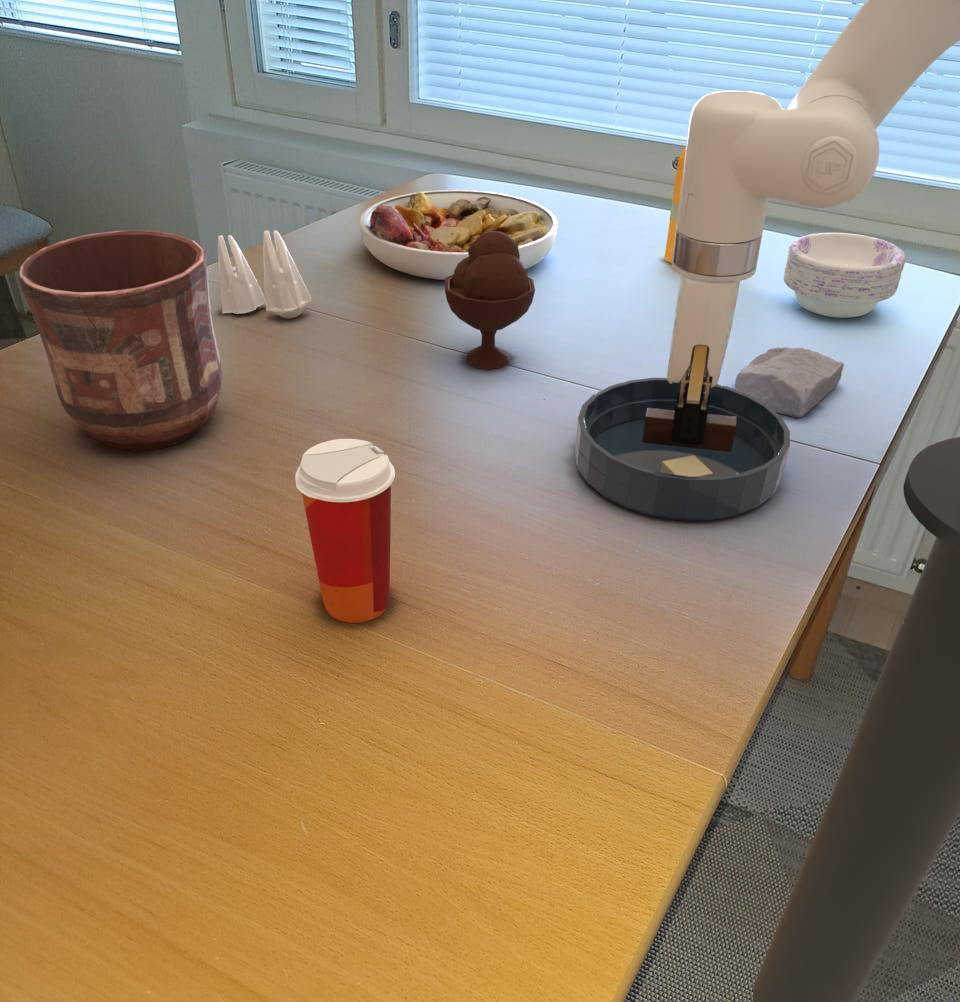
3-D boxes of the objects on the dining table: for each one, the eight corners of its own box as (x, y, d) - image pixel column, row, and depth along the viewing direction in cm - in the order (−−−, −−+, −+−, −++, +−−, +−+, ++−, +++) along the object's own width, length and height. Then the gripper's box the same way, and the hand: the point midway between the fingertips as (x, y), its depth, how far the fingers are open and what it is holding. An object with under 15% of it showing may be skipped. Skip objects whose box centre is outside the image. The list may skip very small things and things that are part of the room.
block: (688, 486, 95) (694, 455, 93) (706, 504, 93) (713, 473, 90) (656, 492, 94) (662, 461, 92) (674, 511, 92) (680, 479, 89)
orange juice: (705, 277, 141) (730, 128, 127) (663, 259, 146) (683, 115, 133) (740, 266, 144) (769, 120, 131) (698, 250, 149) (721, 108, 136)
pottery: (235, 457, 99) (205, 286, 87) (59, 473, 96) (4, 299, 84) (231, 382, 112) (205, 224, 100) (76, 394, 109) (30, 233, 97)
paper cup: (371, 565, 85) (361, 425, 76) (418, 609, 81) (413, 466, 72) (294, 596, 82) (273, 454, 73) (339, 644, 77) (323, 498, 68)
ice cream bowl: (432, 347, 120) (430, 225, 111) (514, 337, 123) (519, 217, 113) (458, 384, 113) (459, 256, 103) (544, 371, 116) (553, 246, 106)
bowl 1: (483, 210, 162) (484, 161, 157) (595, 264, 144) (600, 209, 139) (327, 241, 149) (323, 188, 144) (428, 304, 131) (427, 246, 126)
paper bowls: (765, 285, 138) (777, 229, 133) (867, 285, 139) (883, 229, 134) (795, 328, 127) (809, 268, 122) (906, 328, 128) (925, 268, 122)
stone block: (725, 412, 112) (807, 421, 107) (725, 372, 110) (810, 379, 104) (766, 380, 120) (846, 388, 114) (768, 342, 117) (849, 348, 111)
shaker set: (315, 313, 128) (306, 228, 121) (302, 325, 125) (293, 238, 118) (234, 302, 130) (221, 218, 123) (220, 314, 127) (205, 228, 120)
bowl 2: (778, 432, 105) (789, 390, 102) (778, 538, 90) (791, 493, 86) (590, 408, 109) (594, 367, 106) (559, 506, 93) (563, 462, 90)
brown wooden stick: (642, 442, 97) (645, 416, 95) (644, 433, 99) (647, 407, 97) (731, 452, 96) (736, 425, 94) (731, 442, 97) (736, 416, 95)
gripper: (680, 221, 91) (658, 397, 103) (665, 279, 79) (642, 470, 92) (760, 226, 90) (728, 404, 102) (757, 287, 78) (721, 479, 90)
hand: (687, 434), depth 97 cm, fingers closed on brown wooden stick, 2 cm apart
